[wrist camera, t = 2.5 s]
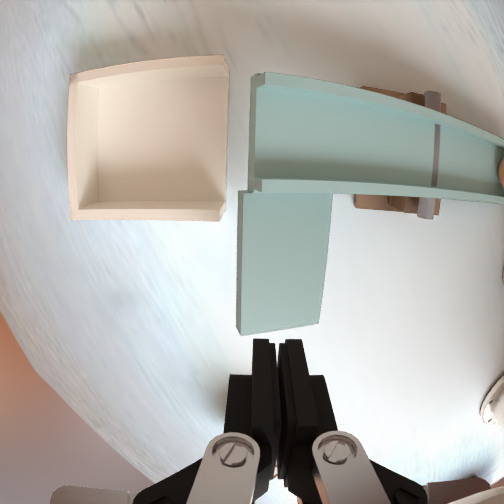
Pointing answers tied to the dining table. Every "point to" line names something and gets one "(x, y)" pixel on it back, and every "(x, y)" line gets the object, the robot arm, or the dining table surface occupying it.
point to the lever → (338, 181)
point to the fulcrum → (388, 201)
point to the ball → (501, 173)
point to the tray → (149, 140)
